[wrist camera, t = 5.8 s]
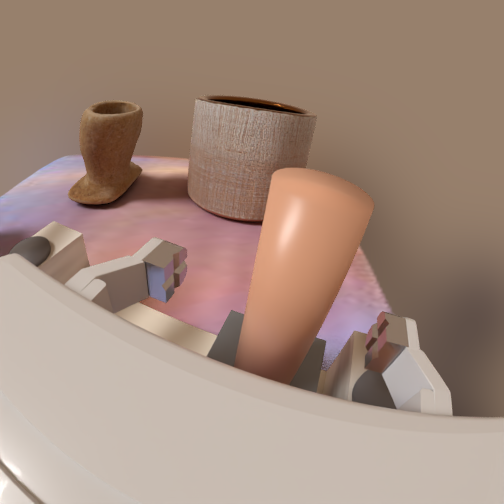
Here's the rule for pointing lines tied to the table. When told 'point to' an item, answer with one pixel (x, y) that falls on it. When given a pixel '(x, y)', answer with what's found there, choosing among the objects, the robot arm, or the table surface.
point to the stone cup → (107, 151)
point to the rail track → (75, 258)
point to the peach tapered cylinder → (295, 276)
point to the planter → (243, 152)
